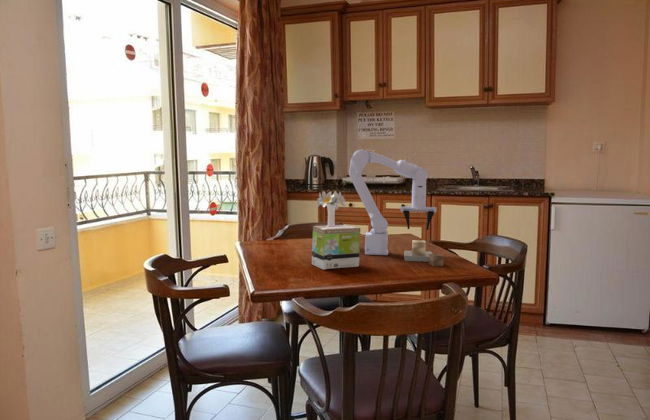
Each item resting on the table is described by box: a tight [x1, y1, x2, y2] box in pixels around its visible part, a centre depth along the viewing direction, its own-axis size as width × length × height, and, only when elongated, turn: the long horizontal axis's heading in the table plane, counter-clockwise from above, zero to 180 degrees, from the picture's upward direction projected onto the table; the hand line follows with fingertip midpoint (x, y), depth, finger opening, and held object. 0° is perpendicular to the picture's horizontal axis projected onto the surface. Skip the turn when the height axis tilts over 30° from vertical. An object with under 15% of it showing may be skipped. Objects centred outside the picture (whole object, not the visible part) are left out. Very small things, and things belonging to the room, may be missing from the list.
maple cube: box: [411, 239, 427, 255], centre depth 200 cm, size 5×5×5 cm
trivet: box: [403, 250, 433, 263], centre depth 201 cm, size 11×11×2 cm
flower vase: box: [315, 190, 346, 225], centre depth 225 cm, size 13×18×25 cm
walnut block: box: [428, 253, 444, 267], centre depth 189 cm, size 4×4×4 cm
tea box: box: [311, 224, 361, 270], centre depth 185 cm, size 15×10×15 cm, turn 117°
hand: (417, 229), depth 210 cm, fingers open, 7 cm apart
